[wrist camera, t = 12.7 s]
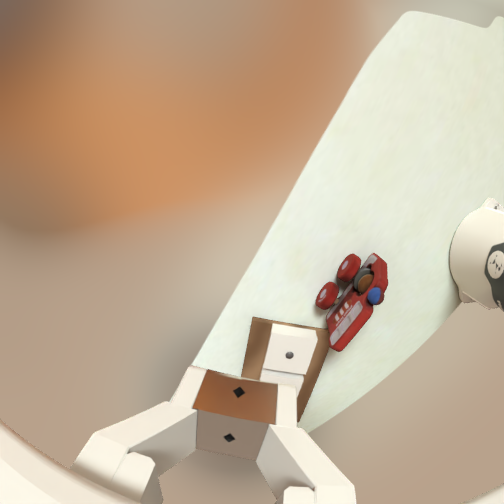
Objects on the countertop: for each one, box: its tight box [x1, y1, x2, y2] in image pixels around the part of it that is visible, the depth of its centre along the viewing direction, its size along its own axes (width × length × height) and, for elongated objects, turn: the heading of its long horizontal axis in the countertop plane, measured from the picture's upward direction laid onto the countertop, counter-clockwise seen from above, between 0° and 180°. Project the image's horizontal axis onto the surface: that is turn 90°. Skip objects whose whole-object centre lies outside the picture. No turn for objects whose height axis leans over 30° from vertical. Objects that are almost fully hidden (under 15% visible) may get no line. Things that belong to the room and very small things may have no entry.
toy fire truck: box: [316, 253, 388, 352], centre depth 36 cm, size 7×12×10 cm, turn 148°
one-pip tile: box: [263, 323, 318, 375], centre depth 41 cm, size 7×7×3 cm
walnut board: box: [241, 317, 330, 422], centre depth 45 cm, size 13×22×3 cm, turn 171°
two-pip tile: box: [259, 363, 304, 397], centre depth 43 cm, size 7×7×3 cm
